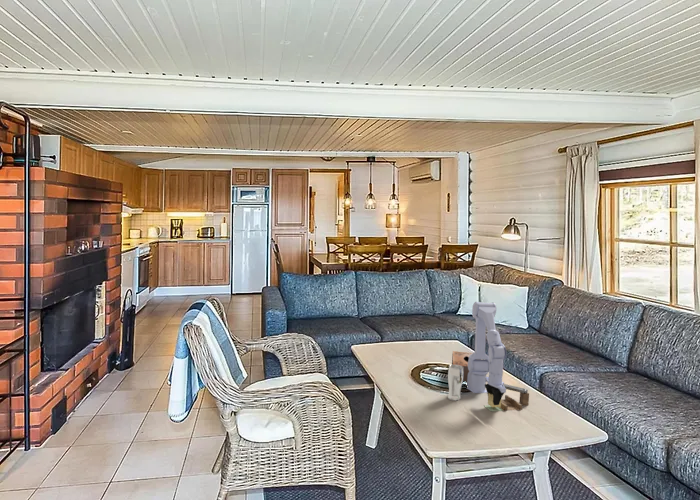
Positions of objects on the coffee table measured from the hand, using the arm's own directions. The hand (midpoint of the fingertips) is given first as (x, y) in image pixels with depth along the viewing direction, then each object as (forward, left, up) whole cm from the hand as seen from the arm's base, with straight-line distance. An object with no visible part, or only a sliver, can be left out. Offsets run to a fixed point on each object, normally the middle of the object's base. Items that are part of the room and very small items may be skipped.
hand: (493, 402), depth 212 cm
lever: (-7, +13, +3) cm, 15 cm away
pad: (0, 0, -3) cm, 3 cm away
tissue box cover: (-42, +8, -3) cm, 43 cm away
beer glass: (-14, -12, -3) cm, 19 cm away
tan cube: (0, 0, -1) cm, 1 cm away
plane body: (-3, +11, -3) cm, 12 cm away
